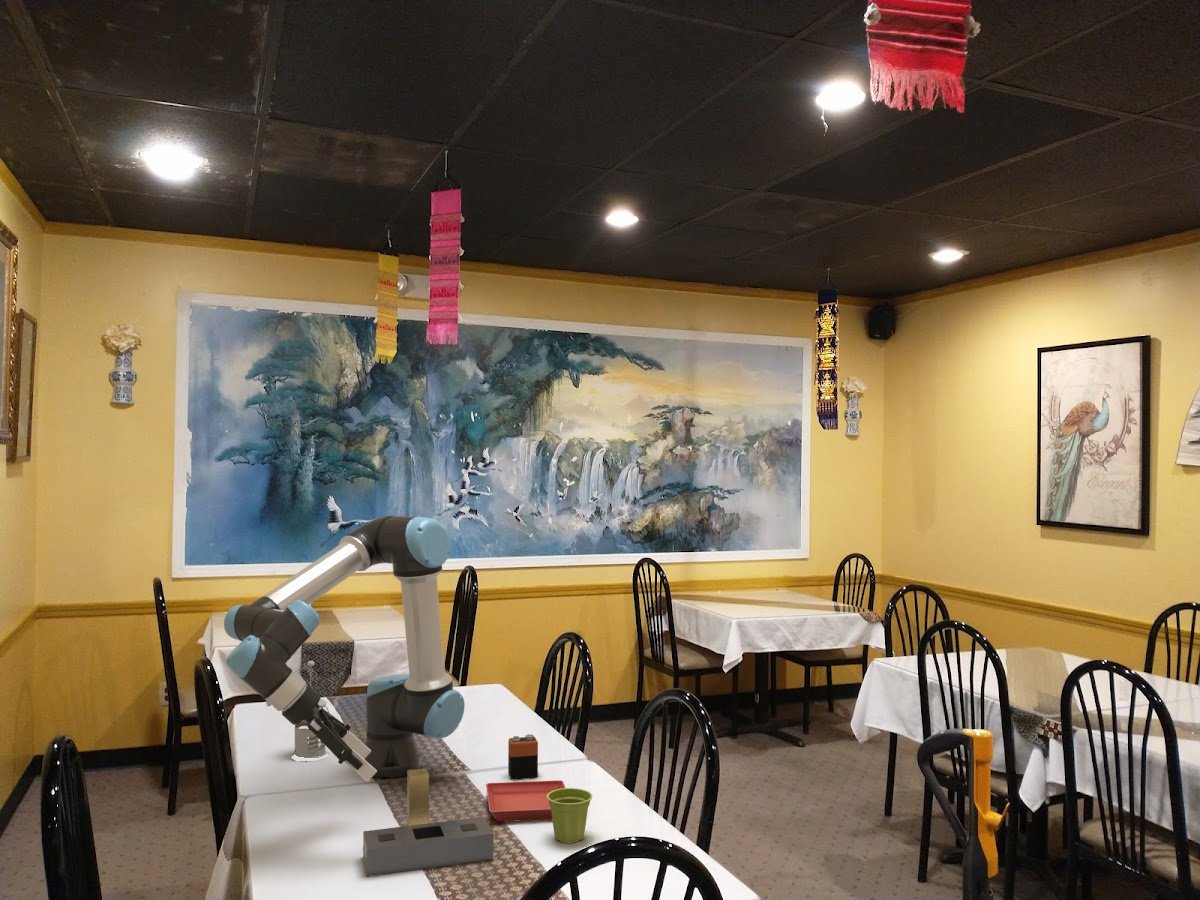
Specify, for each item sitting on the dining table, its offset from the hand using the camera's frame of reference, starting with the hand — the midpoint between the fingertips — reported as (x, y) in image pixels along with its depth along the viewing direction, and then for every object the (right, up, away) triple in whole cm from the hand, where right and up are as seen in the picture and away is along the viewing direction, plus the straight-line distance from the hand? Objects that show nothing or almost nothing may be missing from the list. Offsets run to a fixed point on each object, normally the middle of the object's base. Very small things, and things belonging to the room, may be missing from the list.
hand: (369, 765), depth 191 cm
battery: (+29, -15, +36) cm, 49 cm away
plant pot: (+42, -15, -1) cm, 44 cm away
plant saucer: (+32, -15, +16) cm, 39 cm away
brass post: (+9, -15, +3) cm, 18 cm away
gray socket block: (+14, -14, -11) cm, 23 cm away
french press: (-28, -15, +52) cm, 61 cm away
